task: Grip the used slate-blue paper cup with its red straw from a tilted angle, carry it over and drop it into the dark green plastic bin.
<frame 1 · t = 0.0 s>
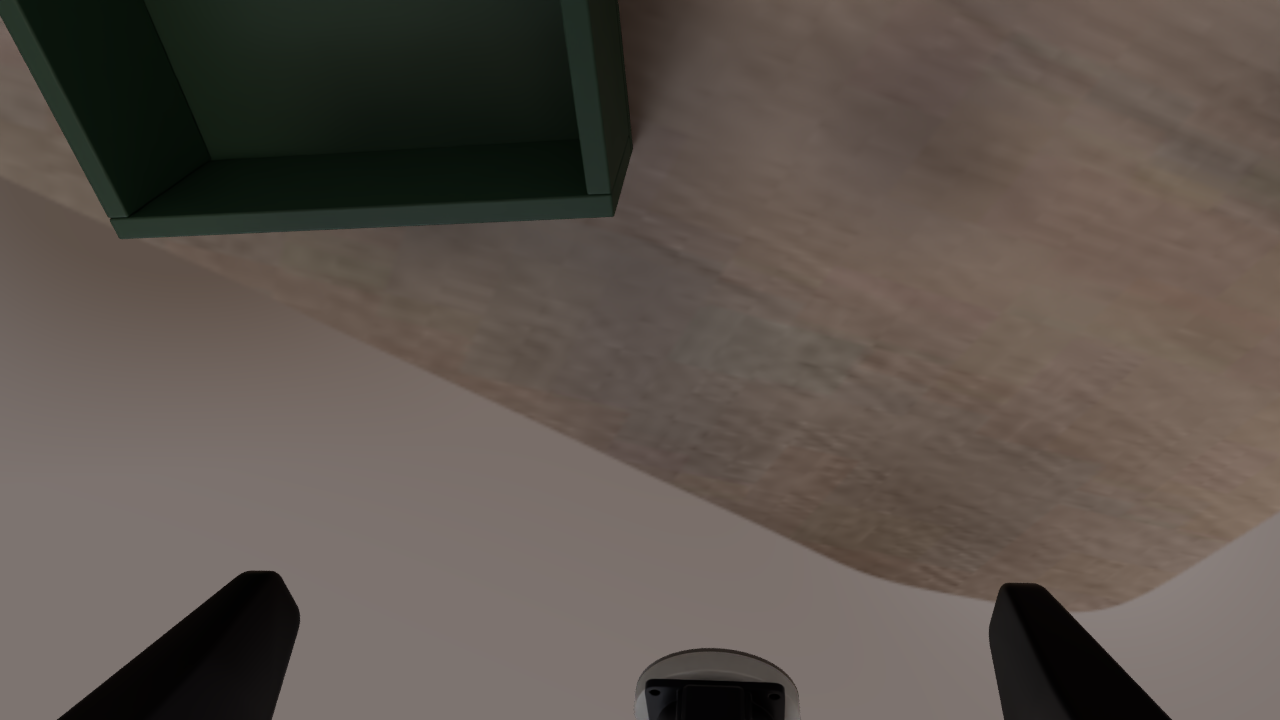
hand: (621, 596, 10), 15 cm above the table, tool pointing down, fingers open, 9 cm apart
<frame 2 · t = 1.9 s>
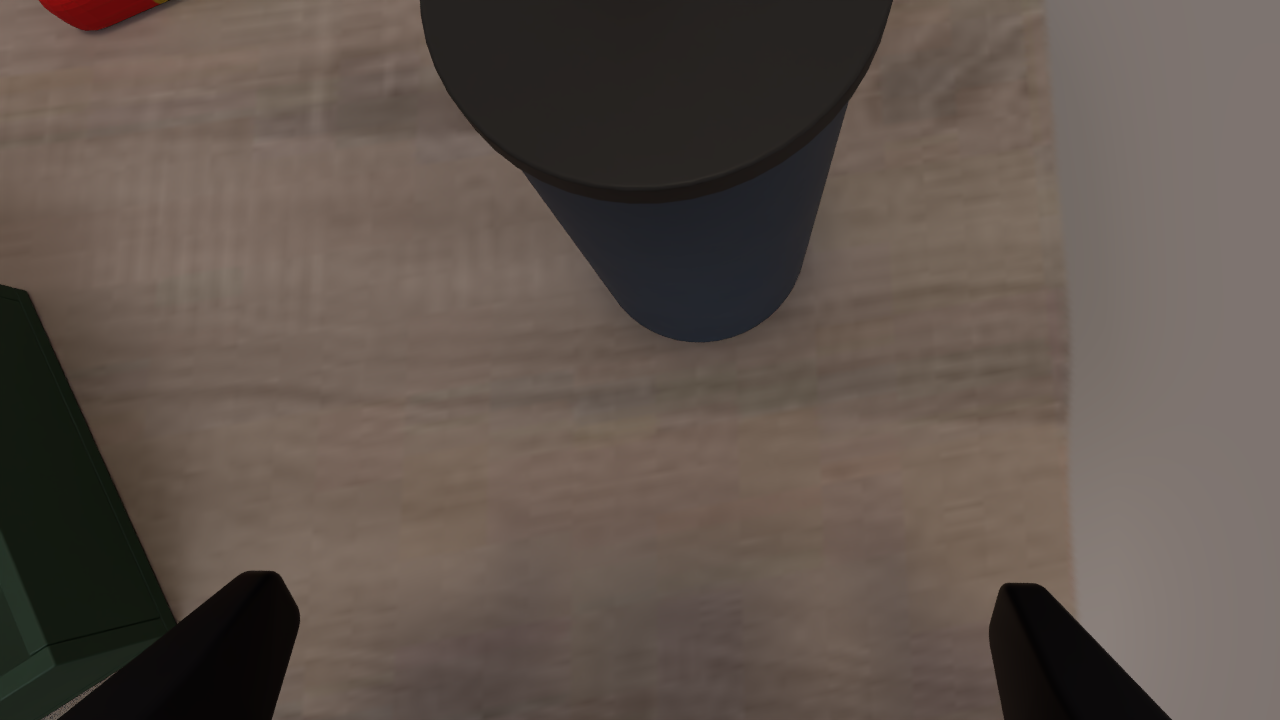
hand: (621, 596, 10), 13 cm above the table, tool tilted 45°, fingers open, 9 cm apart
cup with straw: (700, 241, 24), on the table
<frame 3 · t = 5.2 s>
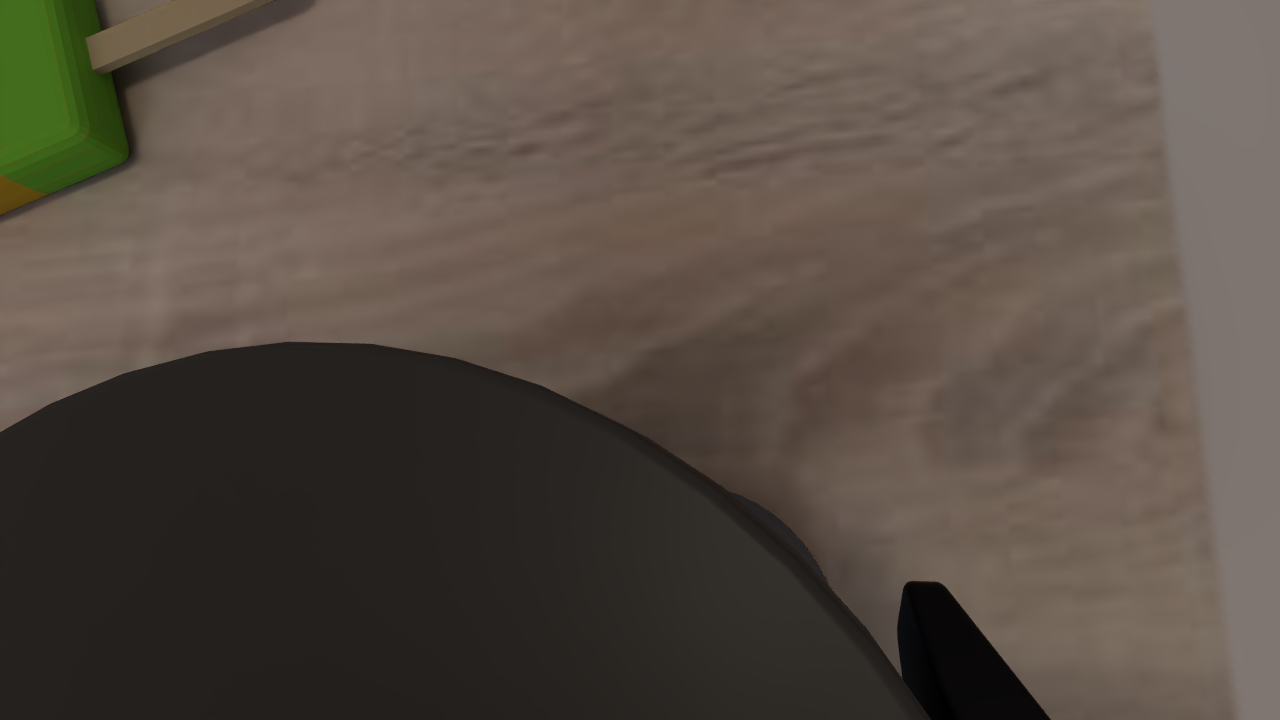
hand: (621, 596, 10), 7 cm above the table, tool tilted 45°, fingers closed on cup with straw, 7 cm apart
popsicle: (67, 104, 21), on the table
cup with straw: (682, 640, 16), on the table, touching gripper
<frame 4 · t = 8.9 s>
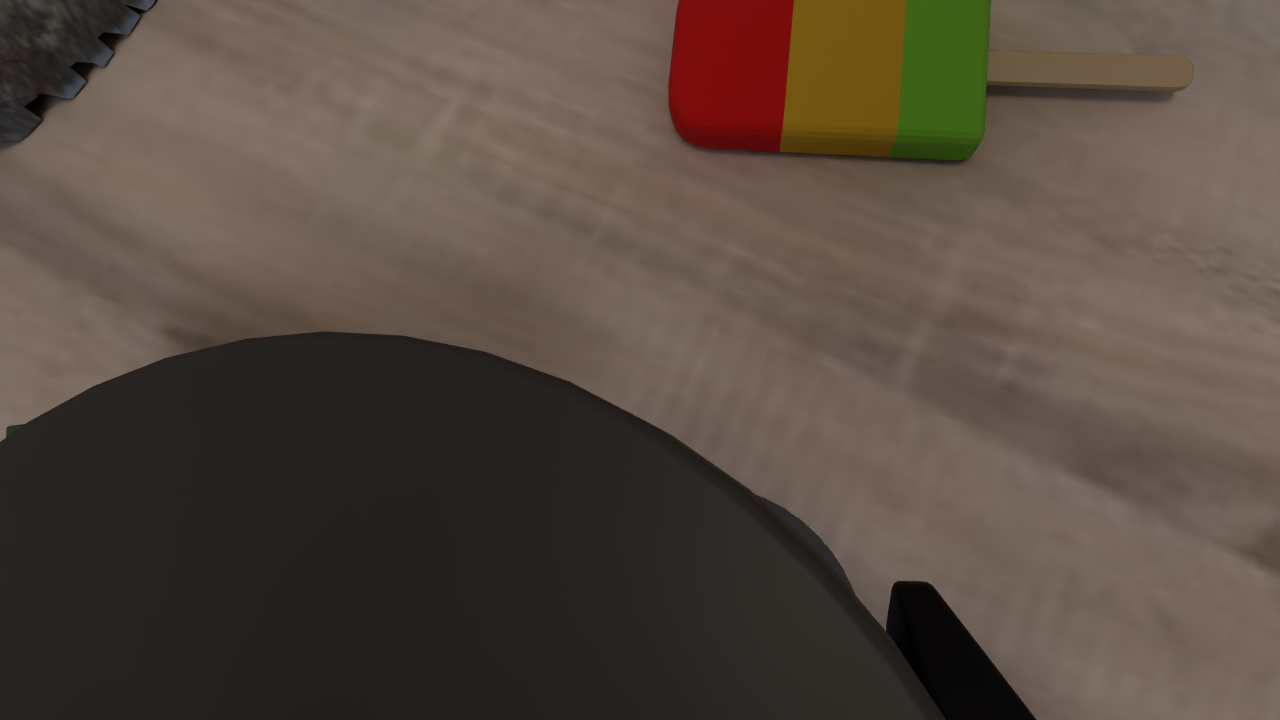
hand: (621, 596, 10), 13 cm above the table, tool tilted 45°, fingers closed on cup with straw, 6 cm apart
popsicle: (912, 83, 24), on the table
cup with straw: (705, 642, 16), point 7 cm above the table, tilted 6°, touching gripper
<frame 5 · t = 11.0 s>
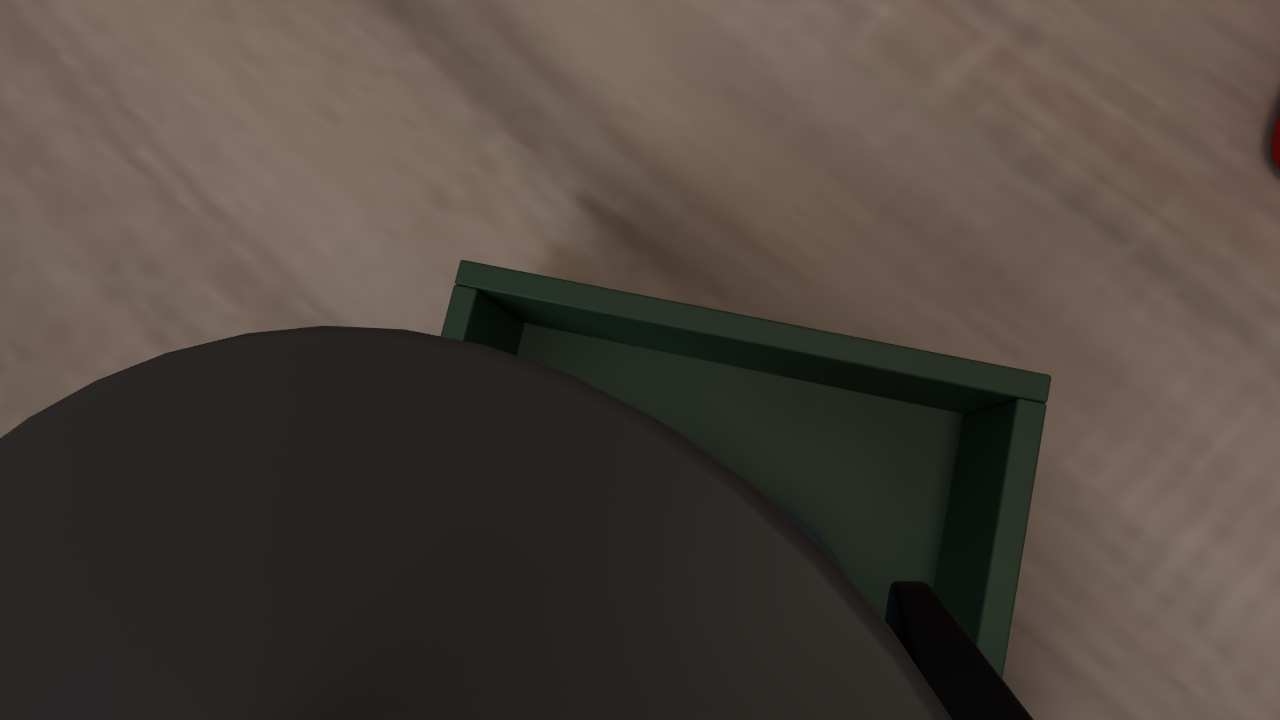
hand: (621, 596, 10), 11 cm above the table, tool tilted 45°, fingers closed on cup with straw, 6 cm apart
bin: (687, 586, 21), on the table
cup with straw: (706, 641, 16), point 5 cm above the table, tilted 6°, touching gripper
when the fingers open (8 cm above the table, at t = 12.7 s): cup with straw stays where it is, resting on bin.
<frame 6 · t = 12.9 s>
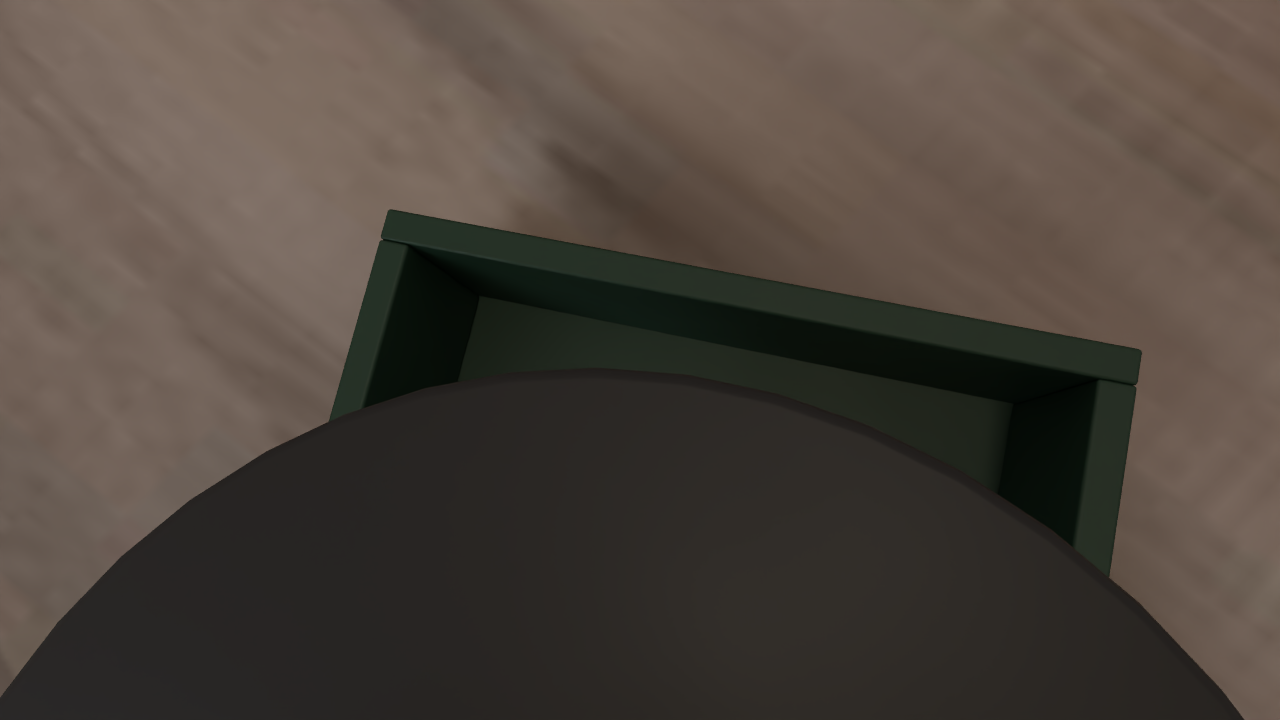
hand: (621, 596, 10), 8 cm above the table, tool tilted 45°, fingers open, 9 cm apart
bin: (674, 614, 17), on the table
cup with straw: (706, 642, 16), point 1 cm above the table, touching bin
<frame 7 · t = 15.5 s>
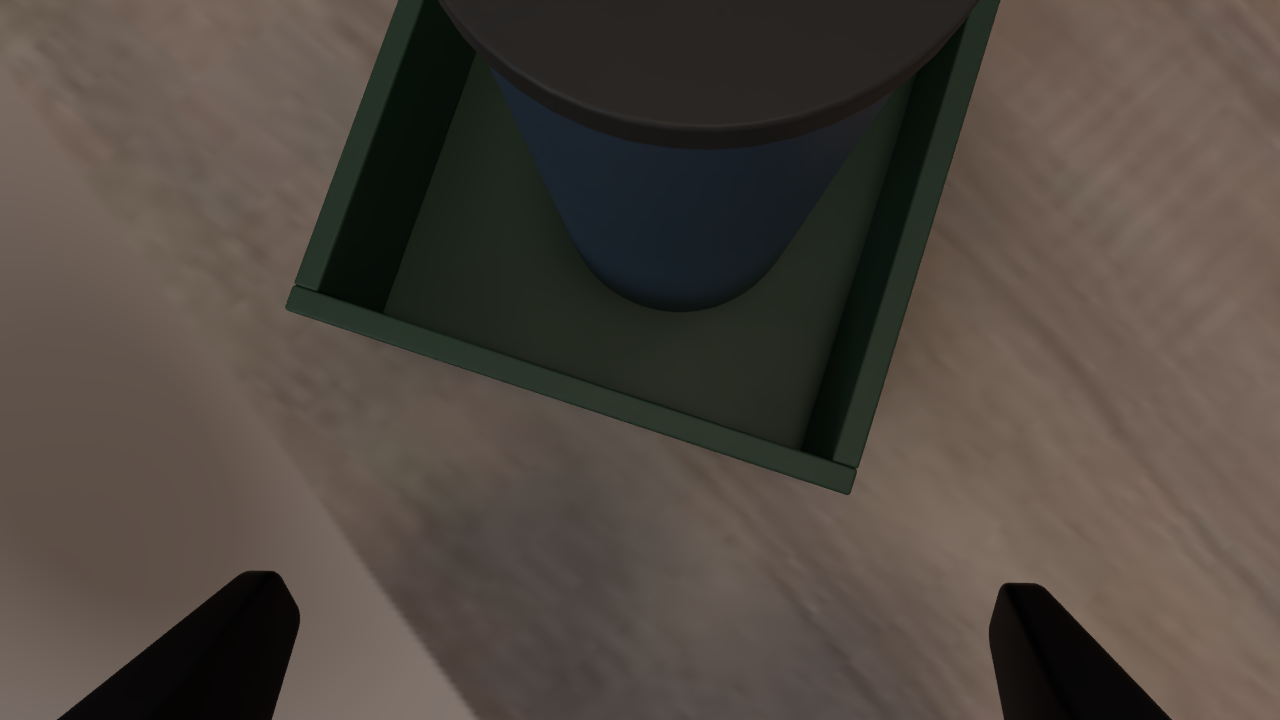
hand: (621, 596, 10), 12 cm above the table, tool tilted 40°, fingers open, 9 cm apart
bin: (655, 185, 22), on the table
cup with straw: (679, 198, 21), resting on bin
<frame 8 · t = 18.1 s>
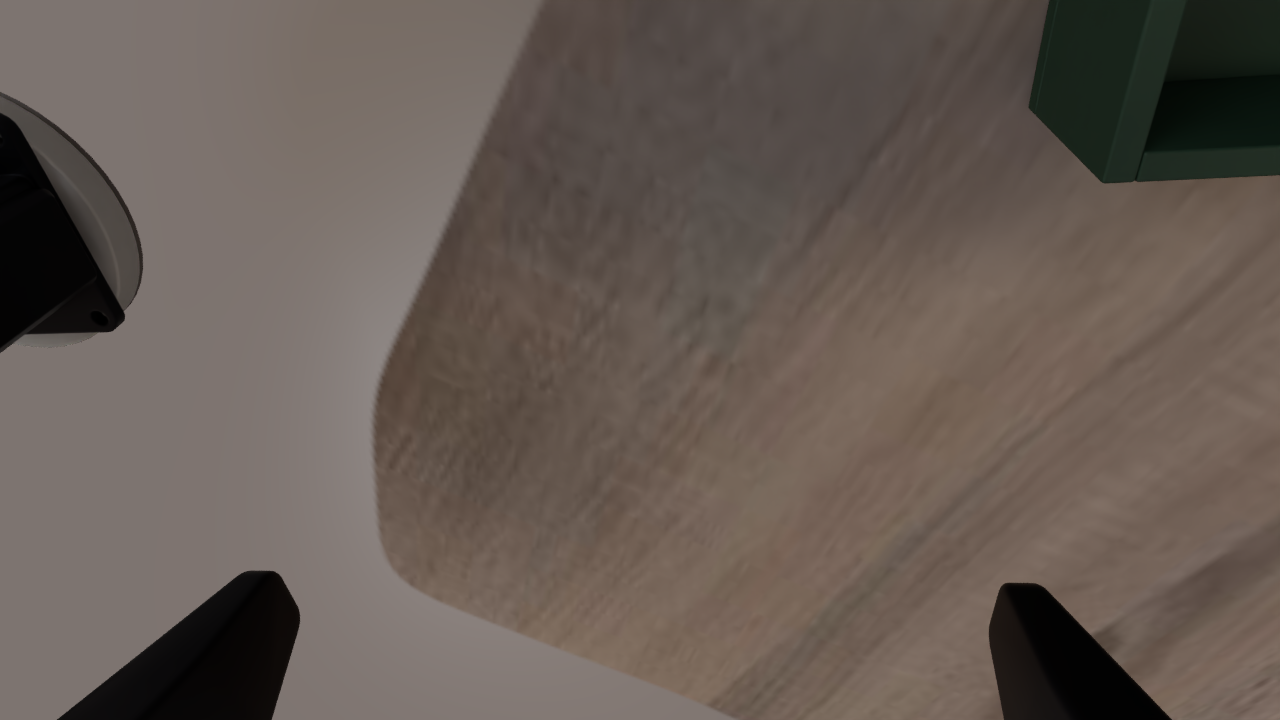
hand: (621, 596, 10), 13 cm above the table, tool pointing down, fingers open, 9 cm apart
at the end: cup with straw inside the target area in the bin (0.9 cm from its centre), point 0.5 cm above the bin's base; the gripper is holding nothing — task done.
